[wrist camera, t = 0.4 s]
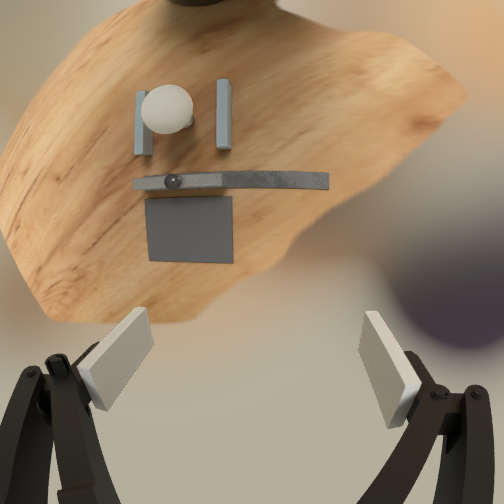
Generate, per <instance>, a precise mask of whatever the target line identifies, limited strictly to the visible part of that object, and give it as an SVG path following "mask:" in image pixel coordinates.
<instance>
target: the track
mask: <svg viewBox="0 0 504 504" xmlns="http://www.w3.org/2000/svg"><path fill="white" fill-rule="evenodd" d="M196 174H228V185H225V186H199V187H178V188H177V189H199V188H308V189H329V173H322V172H296V171H225V172H198V173H180V174H176V175H196ZM167 175H170V174H165V175H152V176H144V178H150V177H163V176H167ZM156 190H174V189H168V188H158V189H145V191H156Z"/></svg>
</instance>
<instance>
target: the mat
mask: <svg viewBox="0 0 504 504" xmlns="http://www.w3.org/2000/svg"><path fill="white" fill-rule="evenodd" d="M145 214H146V229H147V241H148V252H149V261H178V262H212V263H233V229H232V197H185V198H161V199H145Z"/></svg>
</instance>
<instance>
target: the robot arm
mask: <svg viewBox="0 0 504 504" xmlns="http://www.w3.org/2000/svg"><path fill="white" fill-rule="evenodd" d="M173 1H174V2H176V3H178V4H181V5H185V6H203V5H209V4H213V3H217V2H220V1H222V0H173ZM153 345H154V342H153V338H152V333H151V329H150V324H149V319H148V313H147V308H145V307H135V308H134V309H133V310H132V311H131V312H130V313H129V314H128V315H127V316H126V317H125V318H124V319H123V320H122V321H121V322H120V323H119V324H118V325H117V326H116V327H115V328H114V329H113V330H112V331H111V332H110V333H109V334H108V335H107V336H106V337H105V338H104V339H103V340H102V341H101V342H97V343H95V344H93V345H91V346H90V347H89V348H88V349H87V350H86V352H84V353H83V354H82V356H80V357H79V358H78V359H77V360H76V361H75V362H74V363H73V364H72V365H71V366H70V363H69V361H68V358H67V356H66V355H64V354H54V355H52V356H50V357H48V358H47V359H46V361H45V365H46V367H47V369H48V372H49V374H43V373H42V371H41V369H40V367H38V366H29V367H27V368H26V369H24V370H23V372H22V373H21V375H20V378H19V380H18V382H17V384H16V387H15V389H14V391H13V394H12V396H11V399H10V401H9V403H8V406H7V409H6V411H5V414H4V417H3V420H2V422H1V425H0V504H48V485H49V473H50V463H51V454H52V448H53V441H54V444H55V451H56V459H57V465H58V470H59V476H60V481H61V485H62V489H61V490H58V492H57V496H58V502H59V504H121V503H120V500H119V498H118V496H117V493H116V491H115V488H114V485H113V483H112V480H111V478H110V475H109V472H108V469H107V466H106V463H105V461H104V457H103V454H102V451H101V447H100V444H99V440H98V437H97V433H96V430H95V426H94V421H93V418H92V413H91V409H90V407H89V405H88V404H89V403H90V401H91V400H92V401H93V404H94V406H95V407H96V408H98V409H101V410H104V411H108V410H109V409H110V407H111V406H112V404H113V403H114V401H115V400H116V398H117V397H118V395H119V394H120V393H121V391H122V390H123V388H124V387H125V385H126V384H127V382H128V381H129V379H130V378H131V377H132V375H133V374H134V372H135V371H136V369H137V368H138V366H139V365H140V364H141V362H142V361H143V359H144V358H145V357H146V355H147V354H148V352H149V351H150V349H151V348H152V347H153ZM358 350H359V353H360V356H361V358H362V361H363V363H364V366H365V368H366V371H367V374H368V376H369V379H370V382H371V384H372V387H373V389H374V392H375V395H376V397H377V400H378V403H379V406H380V409H381V412H382V414H383V417H384V420H385V423H386V426H387V429H390V428H395V427H400V426H402V425H403V424H404V421H405V419H406V418H407V420H408V423H409V424H408V426H407V428H406V430H405V432H404V433H403V435H402V437H401V439H400V441H399V442H398V444H397V446H396V447H395V449H394V451H393V452H392V454H391V456H390V457H389V459H388V460H387V462H386V463H385V465H384V466H383V468H382V470H381V471H380V473H379V474H378V475H377V477H376V478H375V480H374V481H373V482H372V484H371V485H370V487H369V488H368V489H367V491H366V492H365V493H364V495H363V496H362V497H361V498H360V500H359V501H358V502H357V504H403V503H404V501H405V499H406V498H407V496H408V494H409V493H410V491H411V489H412V487H413V485H414V484H415V482H416V480H417V478H418V476H419V474H420V472H421V470H422V468H423V466H424V464H425V462H426V460H427V458H428V455H429V453H430V451H431V449H432V446H433V444H434V442H435V440H436V437H437V435H443V444H442V453H441V462H440V468H439V475H438V481H437V486H436V491H435V496H434V500H433V504H493V494H494V471H495V461H494V436H493V425H492V415H491V408H490V401H489V395H488V392H487V390H486V389H485V388H483V387H482V386H480V385H471V386H468V387H467V389H466V390H465V392H464V393H463V394H462V393H459V394H458V393H450V391H449V390H448V389H447V388H446V387H445V386H442V385H439V384H436V383H435V382H434V380H433V378H432V377H431V375H430V374H429V372H428V371H427V369H426V368H425V366H424V364H423V363H422V361H421V360H420V358H419V357H418V355H416V354H414V353H413V352H412V351H404V352H403V351H402V349H401V348H400V346H399V344H398V343H397V341H396V340H395V338H394V336H393V335H392V333H391V332H390V330H389V328H388V327H387V325H386V324H385V322H384V321H383V319H382V318H381V316H380V315H379V313H378V312H377V311H365V315H364V321H363V328H362V333H361V338H360V344H359V349H358Z"/></svg>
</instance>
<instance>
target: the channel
mask: <svg viewBox="0 0 504 504" xmlns="http://www.w3.org/2000/svg"><path fill="white" fill-rule="evenodd" d="M148 93H149V92H148V91H146V90H143V91H138V92H136V107H135V130H134V155H142V156H147V155H153V131H152V130H150V129H149V128H148V127H147V126H146V125H145V123H144V121H143V119H142V115H141V108H142V103H143V101H144V99H145V97H146V96H147V95H148ZM216 147H217V148H219V149H221V150H223V149H232V85H231V84H230V82H229V80H228V79H217V112H216Z"/></svg>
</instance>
